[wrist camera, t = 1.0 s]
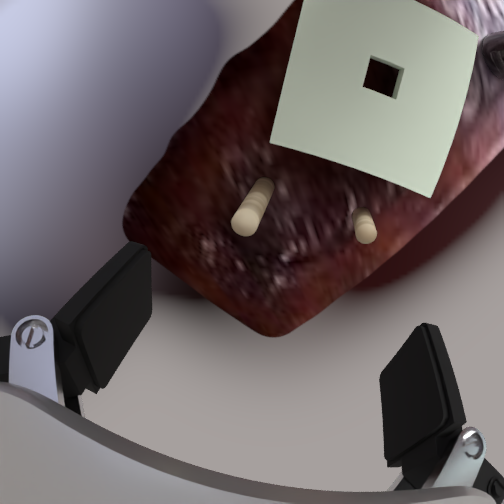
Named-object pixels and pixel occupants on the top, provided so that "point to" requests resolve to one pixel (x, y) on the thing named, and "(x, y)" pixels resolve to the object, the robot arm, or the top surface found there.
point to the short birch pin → (364, 225)
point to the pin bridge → (371, 102)
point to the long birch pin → (253, 207)
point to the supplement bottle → (494, 53)
